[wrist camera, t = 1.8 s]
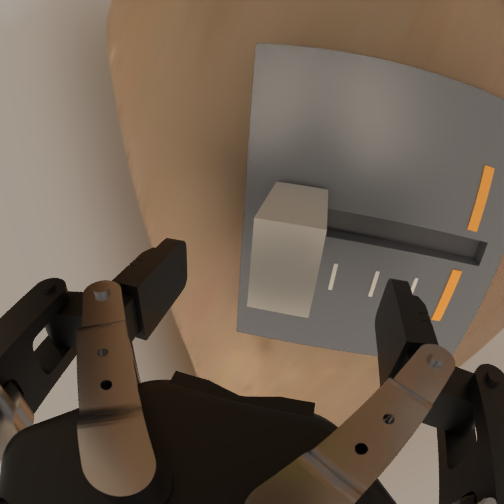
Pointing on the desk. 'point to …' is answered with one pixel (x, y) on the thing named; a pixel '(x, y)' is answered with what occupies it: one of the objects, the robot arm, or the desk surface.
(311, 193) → the fader tab
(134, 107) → the desk surface
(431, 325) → the robot arm
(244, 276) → the fader console
